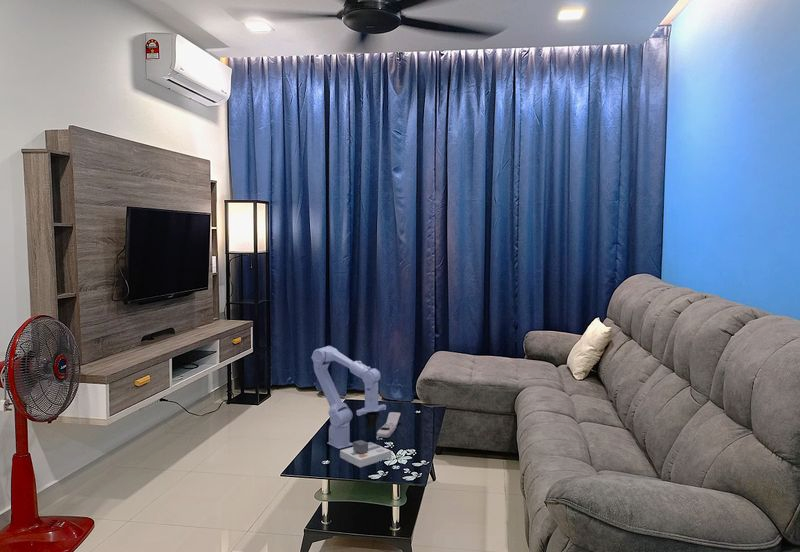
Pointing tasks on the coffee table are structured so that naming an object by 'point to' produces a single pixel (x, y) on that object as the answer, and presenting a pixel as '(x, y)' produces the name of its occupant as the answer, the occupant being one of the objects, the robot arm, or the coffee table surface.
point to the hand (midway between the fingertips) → (371, 429)
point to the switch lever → (360, 446)
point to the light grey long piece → (389, 425)
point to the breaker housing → (365, 455)
